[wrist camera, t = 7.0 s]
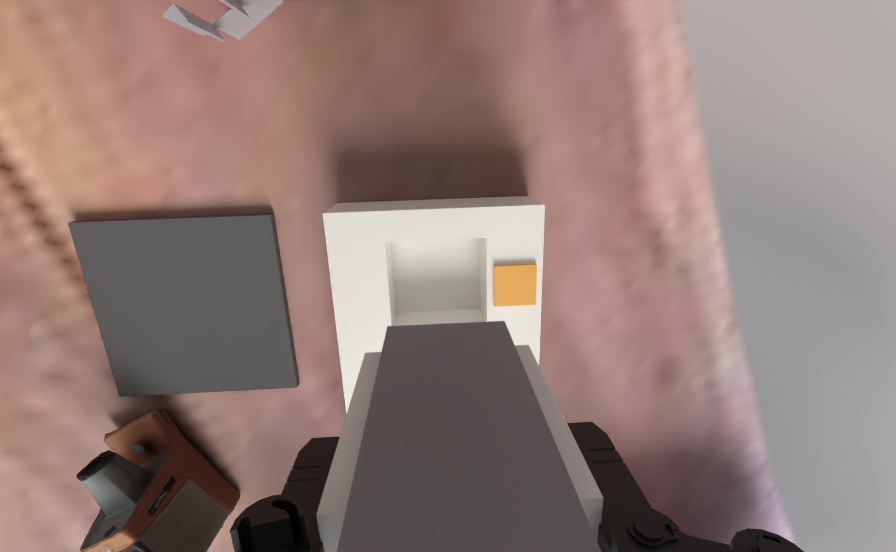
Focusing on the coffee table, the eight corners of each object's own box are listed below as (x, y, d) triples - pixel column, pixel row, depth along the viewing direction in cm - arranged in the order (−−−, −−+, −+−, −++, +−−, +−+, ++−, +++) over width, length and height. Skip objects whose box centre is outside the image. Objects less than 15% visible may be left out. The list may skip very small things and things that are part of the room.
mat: (125, 391, 30) (119, 396, 29) (75, 221, 26) (68, 222, 26) (299, 382, 30) (297, 387, 30) (273, 213, 27) (270, 215, 26)
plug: (395, 426, 16) (335, 931, 6) (387, 326, 15) (293, 739, 5) (503, 420, 16) (633, 903, 6) (504, 320, 15) (668, 712, 5)
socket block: (364, 455, 33) (355, 500, 28) (337, 203, 27) (321, 214, 23) (522, 446, 33) (535, 489, 29) (528, 195, 27) (546, 205, 23)
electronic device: (163, 399, 30) (82, 480, 23) (246, 493, 33) (197, 590, 26) (113, 426, 31) (18, 514, 24) (199, 516, 34) (138, 618, 27)
